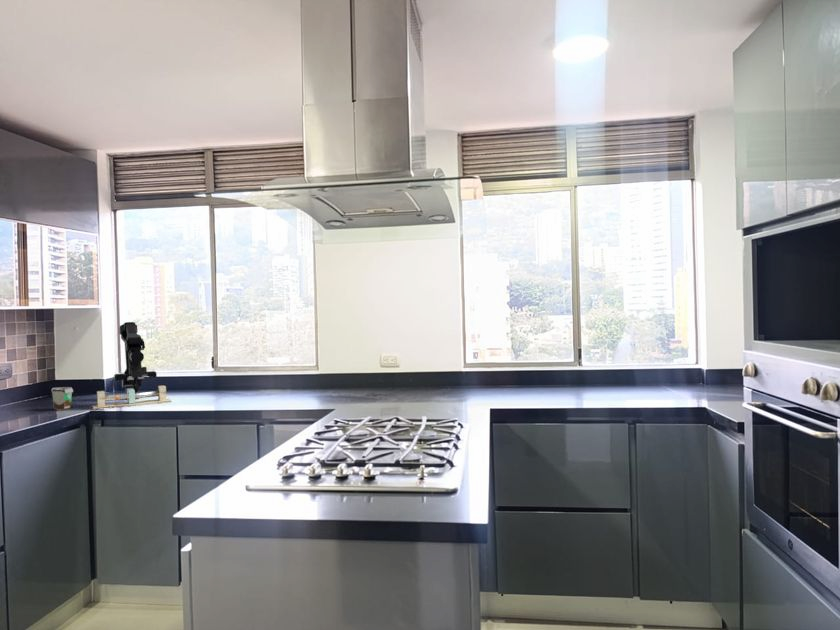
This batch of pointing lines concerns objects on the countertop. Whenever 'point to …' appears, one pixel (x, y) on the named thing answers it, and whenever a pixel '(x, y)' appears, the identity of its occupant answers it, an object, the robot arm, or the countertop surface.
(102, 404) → the beige cradle stand
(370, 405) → the countertop surface
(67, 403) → the food container
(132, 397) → the collar
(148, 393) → the pipe
